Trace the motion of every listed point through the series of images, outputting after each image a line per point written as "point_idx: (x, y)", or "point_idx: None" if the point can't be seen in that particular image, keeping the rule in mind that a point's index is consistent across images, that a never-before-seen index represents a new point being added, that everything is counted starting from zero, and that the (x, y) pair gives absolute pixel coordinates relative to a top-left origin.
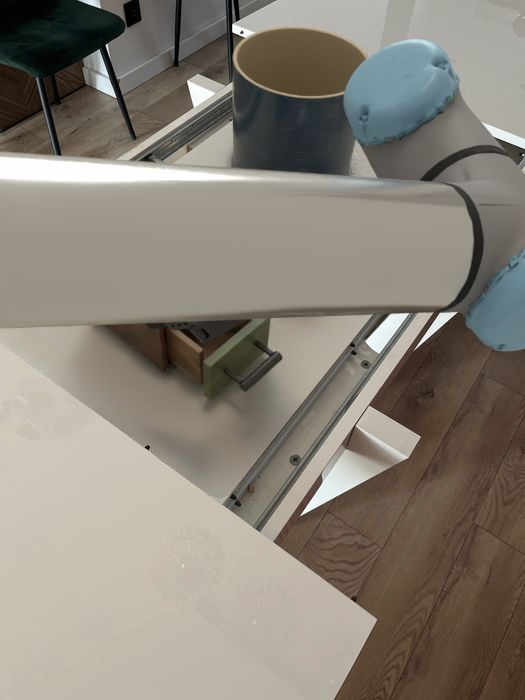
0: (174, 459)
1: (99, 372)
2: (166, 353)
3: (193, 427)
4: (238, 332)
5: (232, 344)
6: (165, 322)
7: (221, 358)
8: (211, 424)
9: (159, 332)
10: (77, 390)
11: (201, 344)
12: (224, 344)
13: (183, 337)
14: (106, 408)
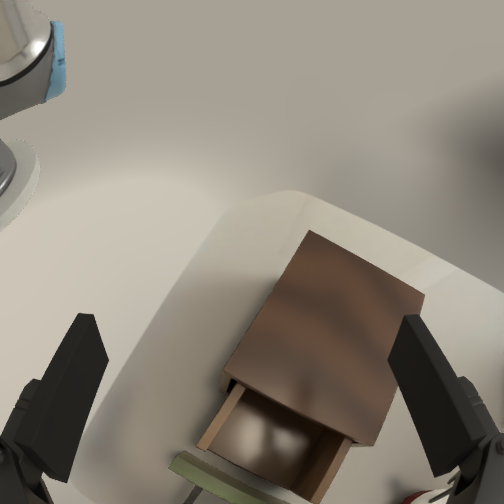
0: (94, 423)
1: (202, 309)
2: (227, 387)
3: (140, 442)
4: (255, 499)
5: (226, 495)
6: (27, 385)
7: (193, 482)
8: (149, 464)
9: (222, 372)
10: (172, 291)
11: (267, 430)
12: (222, 483)
13: (223, 413)
14: (151, 330)
